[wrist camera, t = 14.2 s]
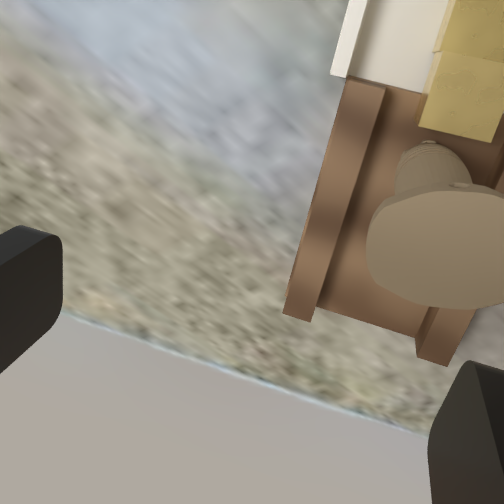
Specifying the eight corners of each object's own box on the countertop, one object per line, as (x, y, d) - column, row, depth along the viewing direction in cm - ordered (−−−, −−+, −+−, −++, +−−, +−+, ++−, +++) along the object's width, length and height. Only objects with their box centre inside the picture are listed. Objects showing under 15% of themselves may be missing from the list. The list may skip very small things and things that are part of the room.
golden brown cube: (455, -20, 28) (466, -32, 25) (524, -7, 28) (546, -17, 24) (431, 52, 30) (439, 50, 26) (497, 66, 29) (513, 66, 26)
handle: (470, 201, 32) (530, 317, 18) (371, 195, 33) (361, 298, 20) (483, 127, 30) (562, 197, 16) (377, 124, 31) (371, 186, 18)
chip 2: (435, 52, 29) (443, 50, 25) (502, 66, 28) (521, 66, 25) (413, 119, 30) (418, 126, 27) (477, 133, 30) (490, 143, 26)
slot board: (349, 74, 32) (344, 79, 28) (547, 123, 30) (570, 136, 26) (289, 284, 40) (278, 312, 36) (444, 333, 38) (451, 368, 34)
